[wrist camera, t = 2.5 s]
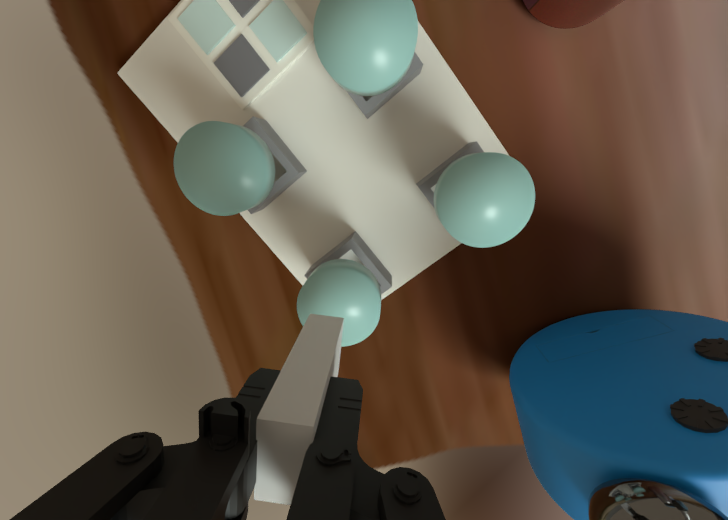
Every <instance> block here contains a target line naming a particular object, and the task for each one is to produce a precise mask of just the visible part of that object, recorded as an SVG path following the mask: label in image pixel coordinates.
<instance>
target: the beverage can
mask: <svg viewBox="0 0 728 520" xmlns="http://www.w3.org/2000/svg"><path fill="white" fill-rule="evenodd" d="M623 1H624V0H523V2H524V4H525V6H526V7H527V9H528V10H529V11H530V13H531V14H532V15H533V16H534V17H535V18H536V19H538V20H539V21H540V22H542V23H544V24H546V25H548V26H551V27H555V28H564V29H566V28H575V27H579V26H583V25H585V24H588V23H590V22H592V21H594V20H595V19H597V18H599V17H600V16H602V15H603V14H605V13H606V12H608V11H609V10H611V9H612V8H614V7H615V6H617V5H618V4H620V3H621V2H623Z"/></svg>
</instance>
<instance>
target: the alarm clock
mask: <svg viewBox="0 0 728 520" xmlns="http://www.w3.org/2000/svg"><path fill="white" fill-rule="evenodd" d="M509 379H510V387H511V391H512V395H513V399H514V403H515V407H516V411H517V415H518V420H519V424H520V428H521V432H522V436H523V440H524V444H525V448H526V452H527V456H528V459H529V462H530V464H531V467H532V469H533V471H534V473H535V474H536V476H537V478H538V480H539V481H540V483H541V484H542V486H543V487H544V489H545V490H546V491H547V493H548V494H549V495H550V496H551V498H552V499H553V500H554V501H555V502H556V503H557V504H558V505H559V506H560V507H561V508H562V509H563V510H564V511H565V512H566V513H567V514H568V515H570V516H571V517H572V518H573V519H574V520H728V322H725V321H721V320H718V319H713V318H709V317H705V316H699V315H694V314H688V313H681V312H673V311H663V310H644V309H629V310H612V311H602V312H595V313H589V314H584V315H580V316H576V317H572V318H569V319H565V320H562V321H560V322H557V323H554V324H552V325H550V326H548V327H546V328H544V329H542V330H540V331H538V332H537V333H535V334H534V335H532V336H531V337H530V338H529V339H527V340H526V341H525V342H524V343H523V344H522V345H521V347H520V348H519V349H518V351H517V352H516V354H515V356H514V357H513V360H512V362H511V366H510V374H509Z"/></svg>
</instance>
